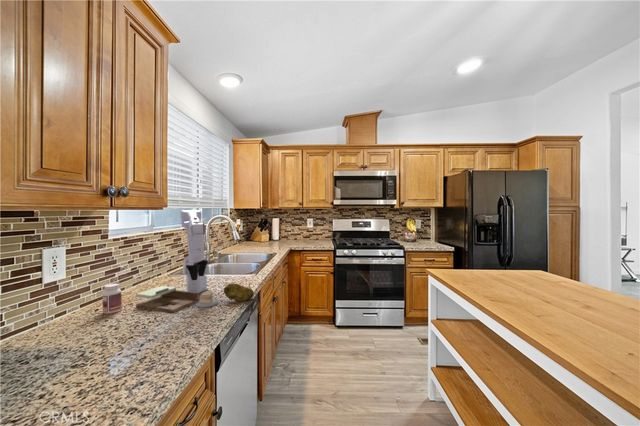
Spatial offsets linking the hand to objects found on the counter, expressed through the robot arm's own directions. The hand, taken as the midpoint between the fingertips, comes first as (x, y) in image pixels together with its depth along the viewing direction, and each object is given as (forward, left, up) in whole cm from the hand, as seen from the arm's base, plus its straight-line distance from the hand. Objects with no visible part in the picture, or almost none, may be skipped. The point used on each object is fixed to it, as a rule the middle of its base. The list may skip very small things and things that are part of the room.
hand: (197, 277), depth 121 cm
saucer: (+3, +8, -10) cm, 13 cm away
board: (+8, -9, -10) cm, 16 cm away
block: (+3, +7, -10) cm, 12 cm away
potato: (-5, +19, -11) cm, 22 cm away
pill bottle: (+22, -24, -11) cm, 34 cm away
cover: (+8, -16, -6) cm, 19 cm away
